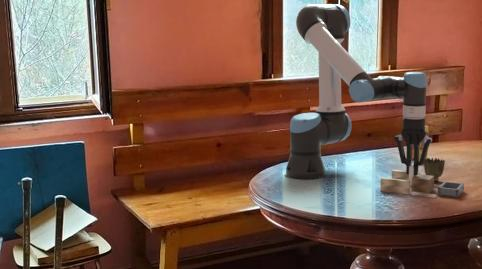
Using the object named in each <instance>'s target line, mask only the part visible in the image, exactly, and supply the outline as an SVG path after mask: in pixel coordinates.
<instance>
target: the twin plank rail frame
mask: <svg viewBox="0 0 482 269" xmlns="http://www.w3.org/2000/svg"><path fill="white" fill-rule="evenodd" d="M418 174H421V172H419V171H418ZM440 185H441V184H436V183H434V188H437V189H438V187H439V186H440ZM379 190H380V192H385V193H387V192H388V193H396V194H403V195H404V194H405V195H410V194H411V195H412V196H417V197H418V196H419V197H427V198H434V199H436V198H437V194H433V193H432V194H431V193H429V194H428V193H420V192H412V191H411V185H410V180H409V175H407V174H406V170H403V169H402V170H400V169H392V170H391V177H380V189H379Z"/></svg>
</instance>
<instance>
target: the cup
mask: <svg viewBox="0 0 482 269" xmlns="http://www.w3.org/2000/svg"><path fill="white" fill-rule="evenodd" d="M445 162H446V159H443V158H441V159H440V158H437V157H435V158H433V157H432V158H429V157H427V159H426V158H425V161H424V164H423V168H424V175H431V176H434V183H438V182H439V180H440V177H441V176H442V175H443V173H444V169H445Z"/></svg>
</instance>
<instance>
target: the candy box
mask: <svg viewBox="0 0 482 269" xmlns="http://www.w3.org/2000/svg"><path fill="white" fill-rule="evenodd" d="M425 132H426V136H428V137H429V133H430V132H429V126H428V125H425ZM424 140H425V139H423V140H422V141H421V143H420V146H419V161H420V157H421V154H422V151H423V147H424V144H425V142H424ZM427 158H428V154H427V155H426V159H427ZM412 161H413V162H414V144H412Z"/></svg>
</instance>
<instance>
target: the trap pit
mask: <svg viewBox="0 0 482 269" xmlns="http://www.w3.org/2000/svg"><path fill="white" fill-rule="evenodd" d="M439 185H440V186H439V187H438V188H437V196H439V197H447V198H453V199H459V197H460V196H461V195H462V194H463V193H464V190H465V183H461V182H453V181H443V183H441V184H439Z"/></svg>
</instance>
